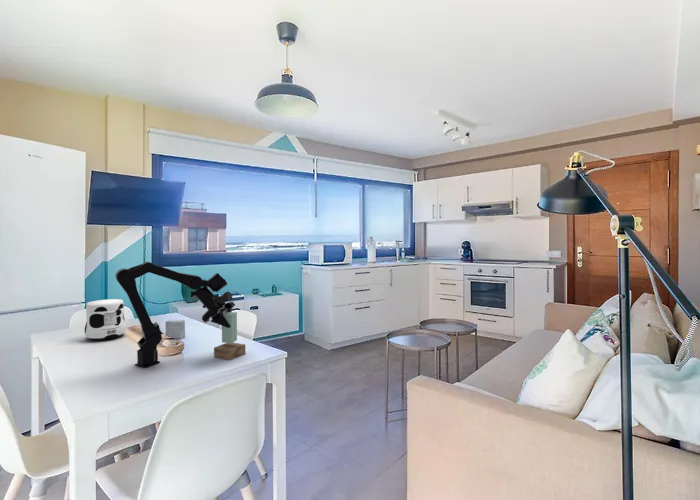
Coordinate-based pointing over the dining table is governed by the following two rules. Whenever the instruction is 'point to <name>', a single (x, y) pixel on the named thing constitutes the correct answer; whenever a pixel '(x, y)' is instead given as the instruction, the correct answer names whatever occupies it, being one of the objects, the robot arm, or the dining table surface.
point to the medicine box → (175, 328)
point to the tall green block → (230, 333)
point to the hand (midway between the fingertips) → (232, 325)
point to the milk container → (105, 319)
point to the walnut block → (229, 350)
